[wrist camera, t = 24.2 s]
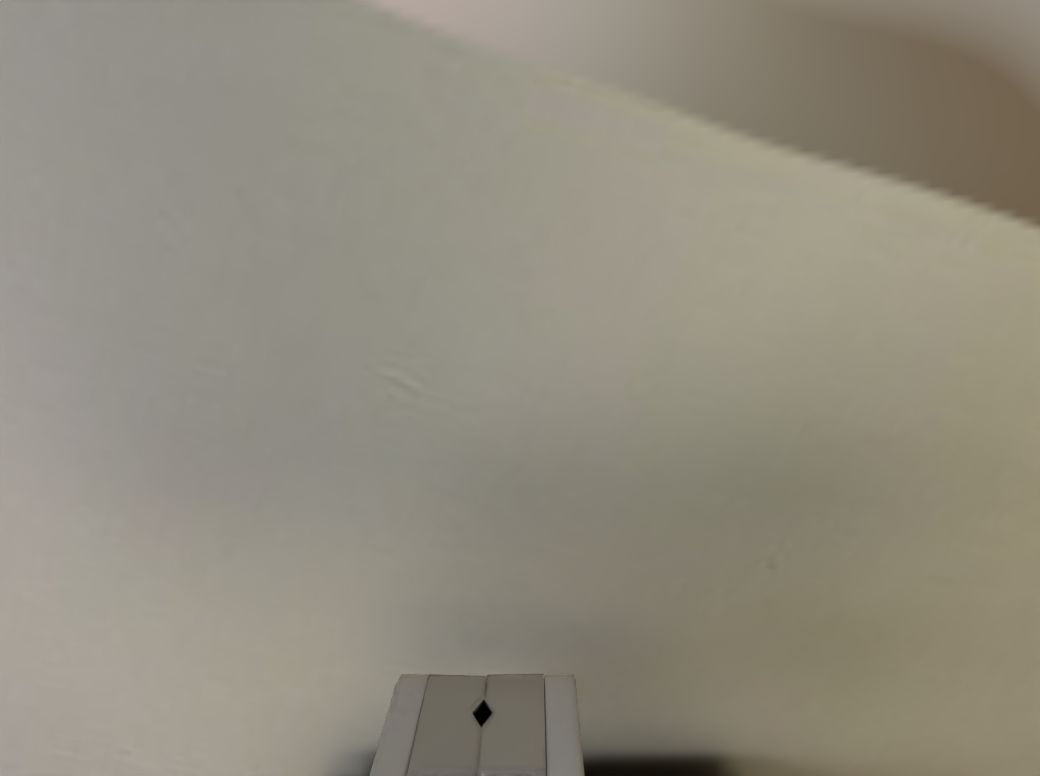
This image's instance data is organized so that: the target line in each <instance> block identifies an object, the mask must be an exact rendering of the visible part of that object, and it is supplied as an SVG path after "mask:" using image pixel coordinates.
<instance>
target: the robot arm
mask: <svg viewBox="0 0 1040 776" xmlns="http://www.w3.org/2000/svg"><path fill="white" fill-rule="evenodd" d="M370 776H584V765H583V754H582V744H581V733H580V722H579V712H578V701H577V690H576V680H575V678H574V675H573V674H572V675H545V676H544V674H504V675H487V676H468V675H433V674H401V676H400V678H399V680H398V681H397V683H396V686H395V689H394V693H393V696H392V700H391V703H390V706H389V710H388V713H387V717H386V720H385V724H384V727H383V731H382V734H381V738H380V741H379V744H378V748H377V751H376V755H375V758H374V762H373V765H372V769H371V772H370Z"/></svg>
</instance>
